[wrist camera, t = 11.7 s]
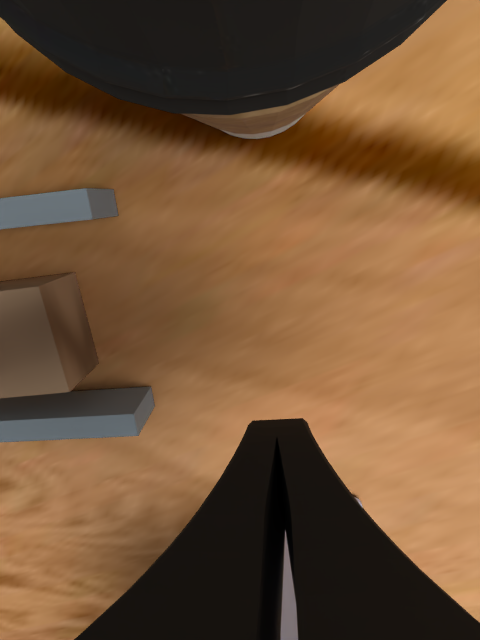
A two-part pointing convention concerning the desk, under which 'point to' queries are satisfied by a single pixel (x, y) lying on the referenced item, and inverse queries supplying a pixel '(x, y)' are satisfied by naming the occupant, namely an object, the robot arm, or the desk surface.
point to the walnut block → (43, 336)
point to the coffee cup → (218, 51)
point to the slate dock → (75, 406)
